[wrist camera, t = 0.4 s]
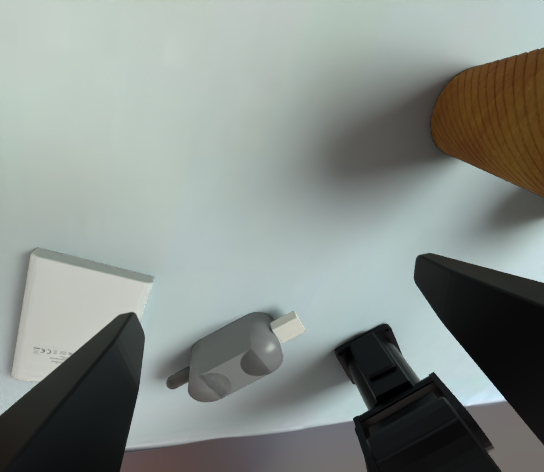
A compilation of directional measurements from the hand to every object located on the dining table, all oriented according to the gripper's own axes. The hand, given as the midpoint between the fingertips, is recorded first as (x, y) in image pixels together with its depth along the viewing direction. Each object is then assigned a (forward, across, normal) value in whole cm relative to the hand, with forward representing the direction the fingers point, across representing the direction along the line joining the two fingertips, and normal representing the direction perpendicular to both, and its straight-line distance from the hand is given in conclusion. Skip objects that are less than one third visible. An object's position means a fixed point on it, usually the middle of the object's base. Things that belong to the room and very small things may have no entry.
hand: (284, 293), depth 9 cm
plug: (+14, +4, +15) cm, 21 cm away
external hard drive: (+14, +15, +10) cm, 23 cm away
